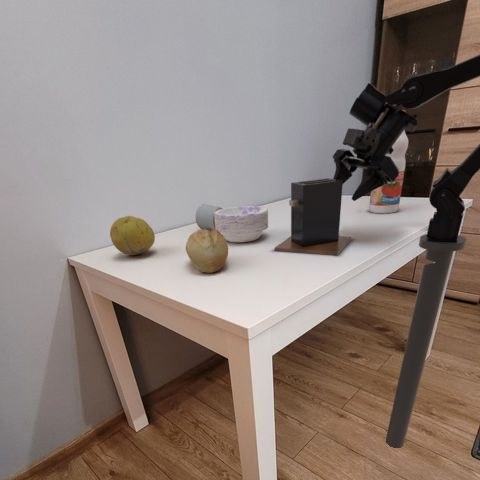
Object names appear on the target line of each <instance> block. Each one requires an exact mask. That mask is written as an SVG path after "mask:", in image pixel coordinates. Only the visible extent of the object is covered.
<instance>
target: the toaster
mask: <svg viewBox="0 0 480 480" xmlns="http://www.w3.org/2000/svg"><path fill="white" fill-rule="evenodd" d="M343 185H344V184H343V180H336V179H333V178H329V177H327V178H318V179H309V180H303V181H294V182H291V183H290V199H289V200H288V205H289V206H290V237H291V241H292V242H294V243H296V244H297V245H299V246H301V247H307V246H313V245H319V244H325V243H331V242H337V241H338V239H339V236H340V225H341V210H342V198H343V197H342V196H343Z"/></svg>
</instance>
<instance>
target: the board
mask: <svg viewBox="0 0 480 480" xmlns="http://www.w3.org/2000/svg"><path fill="white" fill-rule="evenodd" d="M351 241H352V236H349V235H347V236H346V235H339V239H338V241H337V242H331V243H325V244H319V245H313V246H307V247H301V246H299V245H297V244H296V243H294V242H292V241H291V236H289V237H288V238H286V239H284V240H283V241H282V242H280V243H279V244H278V245H276V246H275V247H274V252H287V253H299V254H301V253H302V254H314V255H327V256H329V255H330V256H338V255H339V254H340V253H341V252H342V251H343V250H344V249H345V247H346V246H347V245H348V244H349V243H350V242H351Z"/></svg>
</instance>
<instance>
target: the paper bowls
mask: <svg viewBox="0 0 480 480" xmlns="http://www.w3.org/2000/svg"><path fill="white" fill-rule="evenodd" d="M214 216H215V227H216V230H218V231H219V232H220V233H221V234H222V235H223V236H224V238H225V240H226V242H231V243H249V242H253V241H256V240H257V239H260V238H261V236H262V233H263V232H264V231H265V230H267V229H268V228H269V209H268V208H267V207H265V206H256V205H255V206H254V205H245V206H243V205H242V206H241V205H240V206H232V207H231V206H230V207H226V208H225V207H224V208H223V209H221V210H218V211H216V212H215V213H214Z"/></svg>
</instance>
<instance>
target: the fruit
mask: <svg viewBox="0 0 480 480" xmlns="http://www.w3.org/2000/svg"><path fill="white" fill-rule="evenodd" d="M109 237H110V240H111V243H112V244H113V246H114V247H115V249H116V250H118V251H119V252H121V253H122V254H124V255H127V256H139V255H141V254H143V253H145V252H147V251H148V250H150V249H151V248H152V246H153V245H154V244H155V240H156V235H155V232H154V230H153V228H152V227H151V226H150V225H149V224H148V222H147V221H146V220H144V219H142V218H140V217H136V216H132V215H125V216H124V217H123V216H122V217H119V218H117V219H116V220H115V221H113V223H112V225H111V226H110V230H109Z"/></svg>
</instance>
